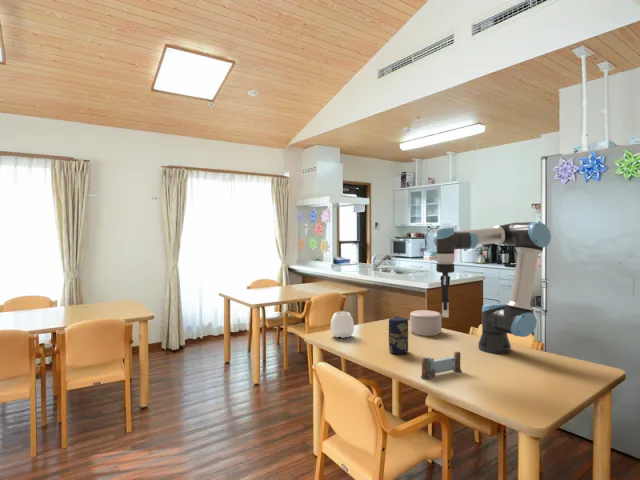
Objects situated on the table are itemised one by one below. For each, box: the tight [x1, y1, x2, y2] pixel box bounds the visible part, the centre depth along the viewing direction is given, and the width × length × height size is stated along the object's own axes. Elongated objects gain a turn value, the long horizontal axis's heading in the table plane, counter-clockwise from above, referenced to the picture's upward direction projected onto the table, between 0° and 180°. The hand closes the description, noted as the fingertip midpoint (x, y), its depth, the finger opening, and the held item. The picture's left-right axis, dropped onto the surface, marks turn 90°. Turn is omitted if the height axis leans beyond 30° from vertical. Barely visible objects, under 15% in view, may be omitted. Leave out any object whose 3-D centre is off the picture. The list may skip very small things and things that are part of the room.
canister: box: [387, 315, 409, 355], centre depth 202 cm, size 10×10×18 cm
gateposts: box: [420, 351, 462, 380], centre depth 170 cm, size 21×4×8 cm, turn 115°
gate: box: [427, 356, 456, 376], centre depth 171 cm, size 13×2×8 cm, turn 115°
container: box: [409, 309, 442, 337], centre depth 240 cm, size 18×18×12 cm
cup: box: [330, 311, 355, 339], centre depth 233 cm, size 13×13×14 cm
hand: (445, 316), depth 179 cm, fingers closed
